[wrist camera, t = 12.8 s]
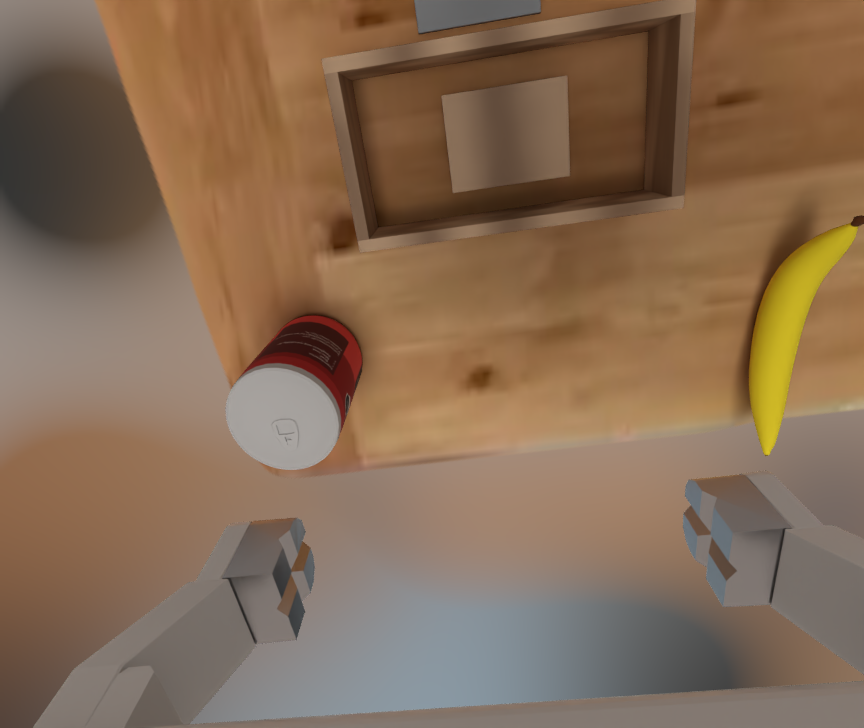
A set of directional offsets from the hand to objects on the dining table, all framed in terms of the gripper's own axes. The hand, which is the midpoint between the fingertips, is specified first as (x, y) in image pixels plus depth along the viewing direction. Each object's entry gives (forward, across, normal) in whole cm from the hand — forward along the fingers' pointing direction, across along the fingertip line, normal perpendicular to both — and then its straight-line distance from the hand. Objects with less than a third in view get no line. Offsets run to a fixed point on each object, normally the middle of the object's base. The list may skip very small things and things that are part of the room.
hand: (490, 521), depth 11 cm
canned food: (+31, +13, +8) cm, 35 cm away
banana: (+31, -24, +10) cm, 41 cm away
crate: (+31, -4, -7) cm, 32 cm away
